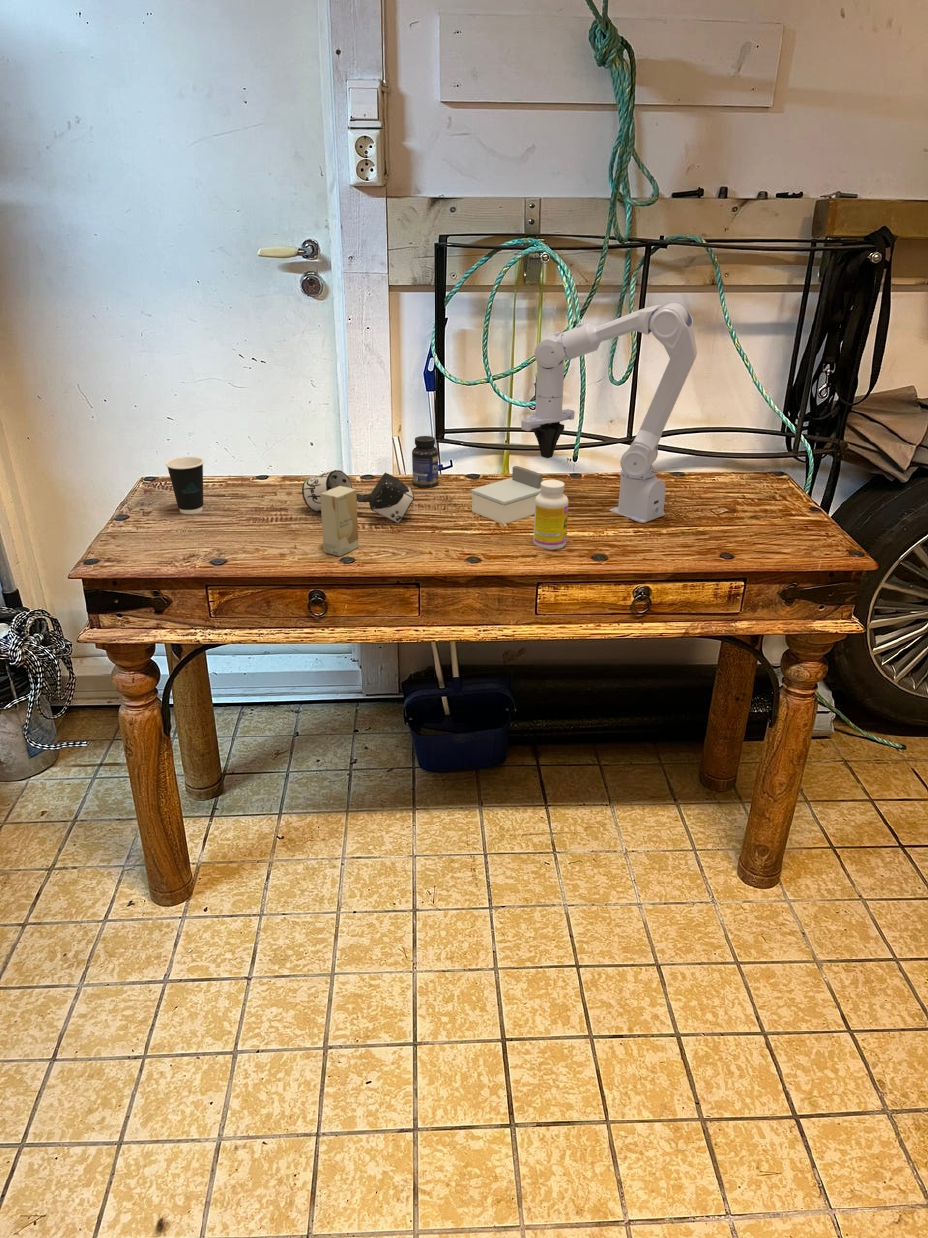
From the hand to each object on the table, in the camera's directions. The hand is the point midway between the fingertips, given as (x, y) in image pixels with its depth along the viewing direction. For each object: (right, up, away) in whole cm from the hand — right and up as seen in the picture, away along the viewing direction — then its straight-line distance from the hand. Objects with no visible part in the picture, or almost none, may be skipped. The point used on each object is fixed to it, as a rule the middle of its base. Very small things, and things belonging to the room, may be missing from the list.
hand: (546, 456), depth 208 cm
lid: (-9, -8, -4) cm, 13 cm away
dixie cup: (-78, -12, -1) cm, 79 cm away
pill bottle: (-27, -4, +15) cm, 32 cm away
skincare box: (-42, -22, -20) cm, 52 cm away
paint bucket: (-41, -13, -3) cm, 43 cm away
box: (-9, -13, -2) cm, 16 cm away
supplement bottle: (-1, -21, -18) cm, 27 cm away
